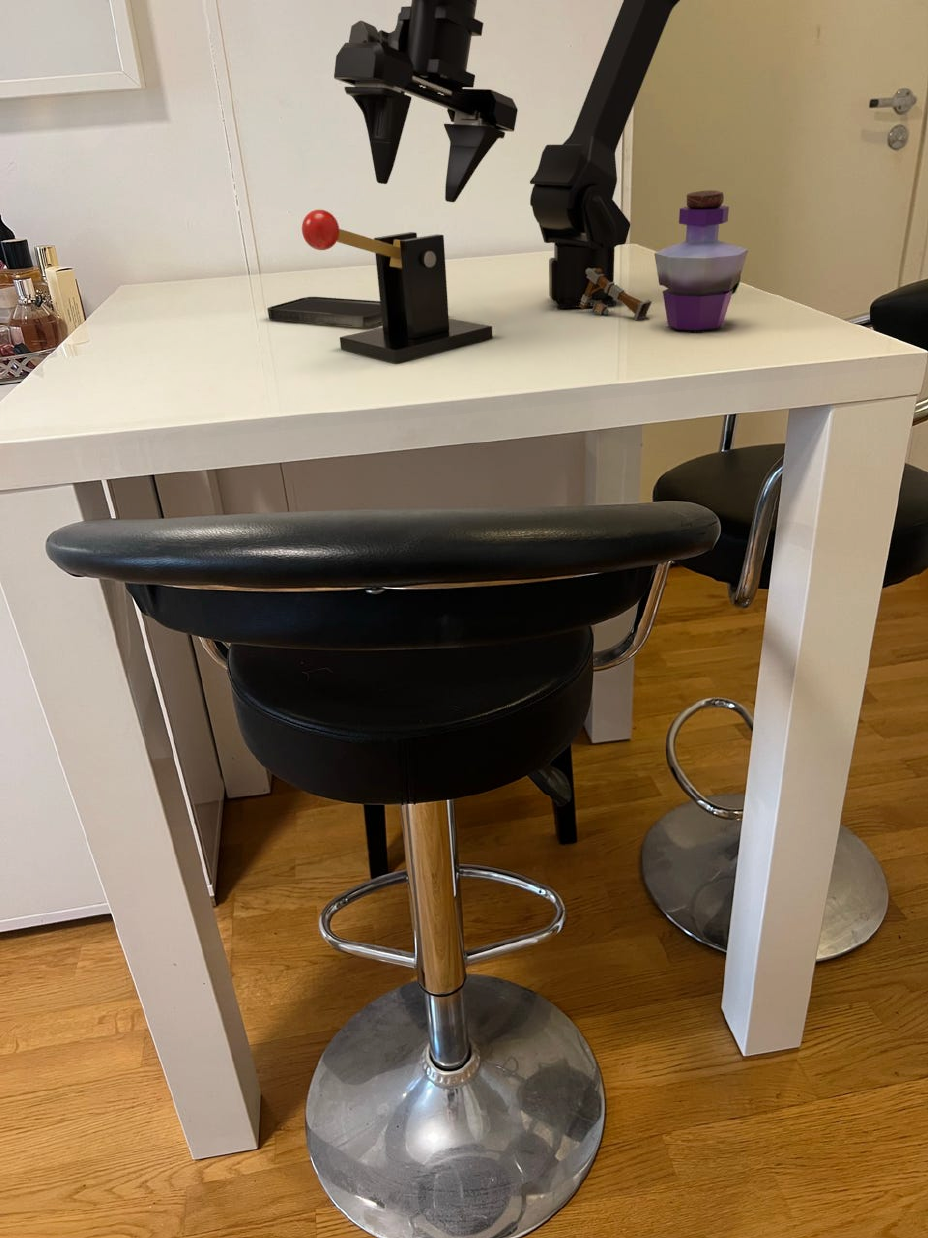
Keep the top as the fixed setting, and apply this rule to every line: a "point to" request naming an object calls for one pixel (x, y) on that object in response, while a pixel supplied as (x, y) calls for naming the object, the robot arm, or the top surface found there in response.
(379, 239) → the bracket
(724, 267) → the potion bottle
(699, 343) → the top surface
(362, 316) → the phone
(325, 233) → the lever
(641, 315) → the wooden post with brackets
